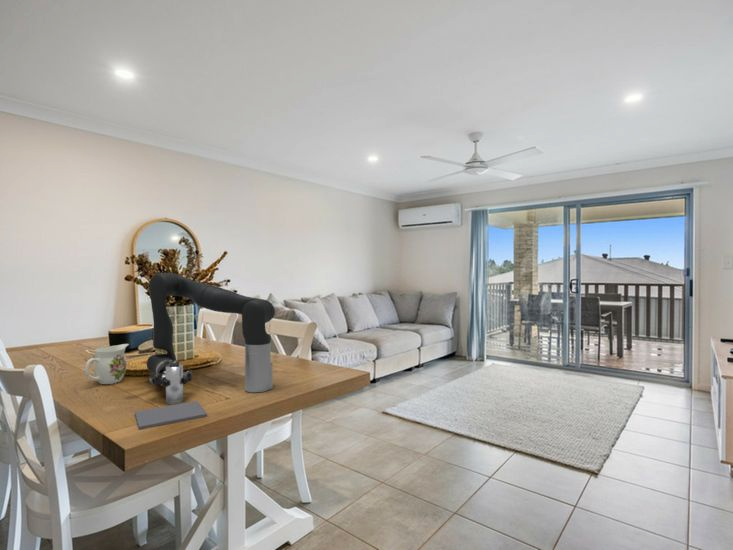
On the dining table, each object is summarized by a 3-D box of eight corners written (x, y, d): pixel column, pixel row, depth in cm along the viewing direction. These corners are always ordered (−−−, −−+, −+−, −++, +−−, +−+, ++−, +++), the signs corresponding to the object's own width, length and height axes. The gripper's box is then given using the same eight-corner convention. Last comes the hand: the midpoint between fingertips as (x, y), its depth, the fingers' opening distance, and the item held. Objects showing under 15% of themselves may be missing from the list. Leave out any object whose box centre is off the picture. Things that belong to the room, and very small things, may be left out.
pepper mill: (181, 398, 138) (181, 358, 138) (184, 402, 134) (184, 361, 133) (164, 400, 135) (164, 360, 135) (167, 405, 131) (166, 364, 130)
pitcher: (74, 388, 149) (74, 351, 148) (118, 375, 166) (118, 343, 166) (96, 391, 145) (96, 353, 145) (138, 378, 162) (138, 344, 162)
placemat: (197, 403, 133) (197, 400, 133) (206, 416, 121) (206, 413, 121) (134, 414, 123) (134, 411, 123) (138, 429, 111) (138, 426, 111)
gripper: (145, 364, 142) (151, 374, 128) (189, 359, 150) (198, 368, 136) (145, 385, 142) (151, 397, 128) (189, 378, 150) (198, 390, 136)
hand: (175, 382), depth 132 cm, fingers closed on pepper mill, 5 cm apart
